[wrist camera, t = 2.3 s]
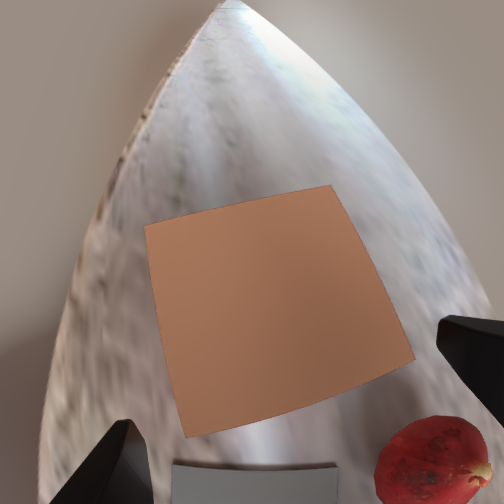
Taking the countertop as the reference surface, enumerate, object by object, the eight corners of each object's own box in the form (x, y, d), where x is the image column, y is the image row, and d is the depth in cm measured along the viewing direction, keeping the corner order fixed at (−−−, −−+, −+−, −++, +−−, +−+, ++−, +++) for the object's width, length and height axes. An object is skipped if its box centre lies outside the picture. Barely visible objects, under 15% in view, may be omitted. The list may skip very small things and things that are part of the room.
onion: (343, 504, 13) (406, 547, 6) (367, 414, 15) (445, 402, 8) (425, 504, 12) (509, 524, 5) (445, 422, 15) (535, 405, 8)
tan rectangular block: (329, 394, 16) (415, 359, 7) (219, 427, 15) (185, 438, 6) (293, 296, 19) (330, 184, 11) (191, 323, 18) (144, 225, 10)
